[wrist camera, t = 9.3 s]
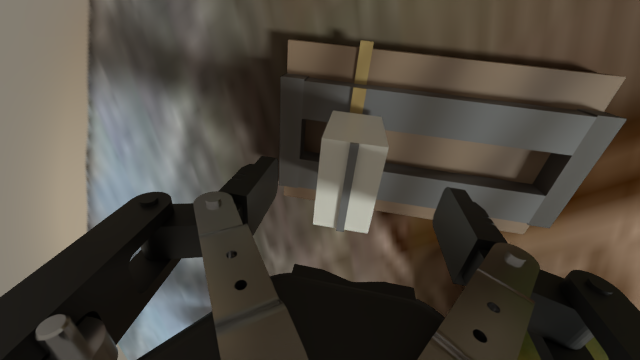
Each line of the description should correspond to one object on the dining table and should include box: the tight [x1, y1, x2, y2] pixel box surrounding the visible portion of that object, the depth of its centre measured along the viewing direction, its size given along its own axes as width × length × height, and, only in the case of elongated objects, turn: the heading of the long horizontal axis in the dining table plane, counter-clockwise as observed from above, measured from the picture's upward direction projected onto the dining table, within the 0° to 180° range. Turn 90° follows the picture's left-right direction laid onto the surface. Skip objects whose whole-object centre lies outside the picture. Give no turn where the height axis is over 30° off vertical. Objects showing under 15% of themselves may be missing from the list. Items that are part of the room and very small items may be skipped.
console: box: [279, 40, 626, 234], centre depth 18 cm, size 20×12×4 cm, turn 85°
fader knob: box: [313, 111, 389, 233], centre depth 16 cm, size 3×5×7 cm, turn 175°
